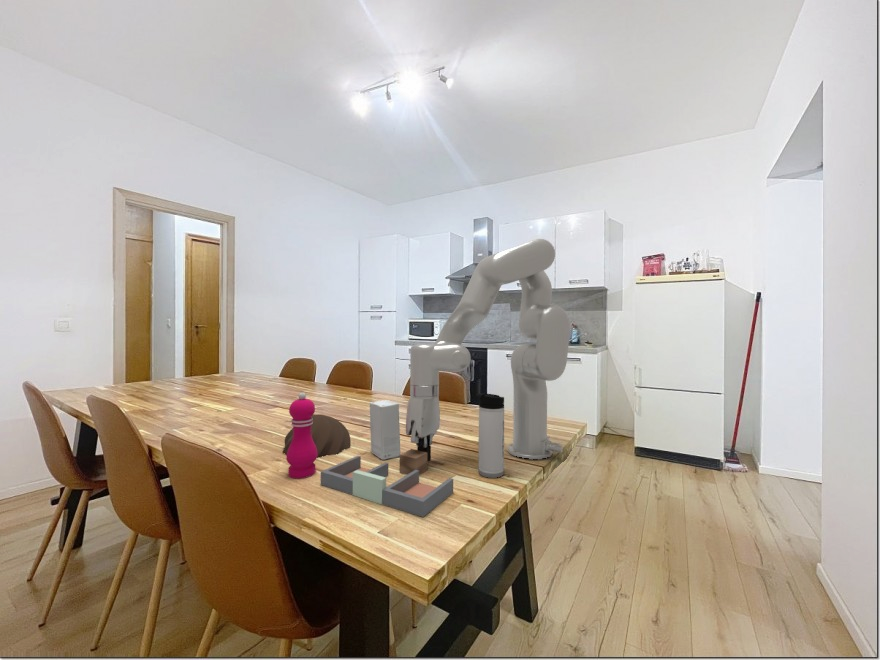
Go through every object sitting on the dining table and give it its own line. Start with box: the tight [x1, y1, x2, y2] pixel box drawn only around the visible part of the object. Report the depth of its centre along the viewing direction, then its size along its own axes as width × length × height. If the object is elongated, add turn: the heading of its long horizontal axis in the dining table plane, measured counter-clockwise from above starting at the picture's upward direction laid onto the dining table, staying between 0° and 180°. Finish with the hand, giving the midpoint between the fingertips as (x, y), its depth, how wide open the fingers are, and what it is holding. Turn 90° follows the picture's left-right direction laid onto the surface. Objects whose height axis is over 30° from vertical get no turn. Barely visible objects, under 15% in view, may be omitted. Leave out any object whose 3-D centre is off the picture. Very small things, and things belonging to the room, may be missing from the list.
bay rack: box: [320, 455, 454, 518], centre depth 82 cm, size 28×12×5 cm, turn 60°
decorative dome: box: [282, 414, 351, 459], centre depth 110 cm, size 19×20×10 cm
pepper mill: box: [285, 392, 318, 479], centre depth 90 cm, size 7×7×20 cm
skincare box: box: [369, 399, 401, 461], centre depth 104 cm, size 8×6×15 cm
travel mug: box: [477, 392, 505, 479], centre depth 91 cm, size 6×7×20 cm
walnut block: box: [399, 448, 428, 476], centre depth 92 cm, size 5×5×4 cm
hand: (424, 460), depth 96 cm, fingers closed
